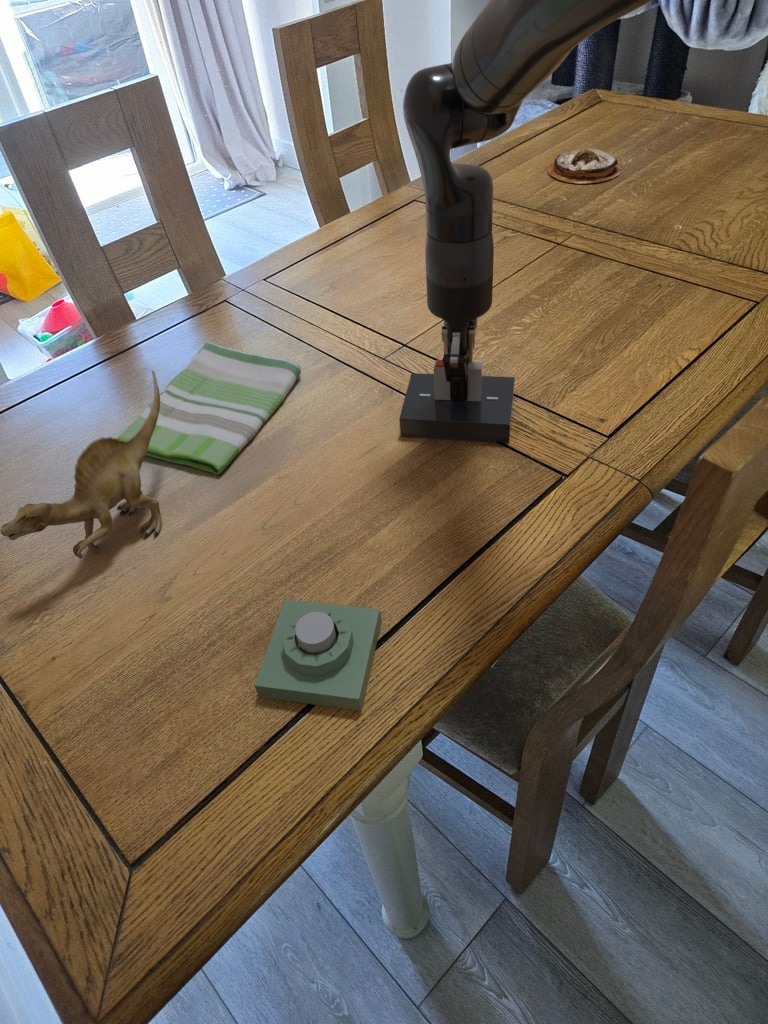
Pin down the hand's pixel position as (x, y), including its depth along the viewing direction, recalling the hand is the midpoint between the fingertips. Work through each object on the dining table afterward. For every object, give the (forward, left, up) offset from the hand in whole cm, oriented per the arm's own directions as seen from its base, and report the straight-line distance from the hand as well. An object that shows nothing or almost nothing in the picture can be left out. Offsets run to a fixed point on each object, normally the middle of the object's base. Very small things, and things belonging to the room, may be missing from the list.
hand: (459, 393), depth 90 cm
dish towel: (+34, +2, -4) cm, 34 cm away
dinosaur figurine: (+36, +23, -4) cm, 43 cm away
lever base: (0, 0, -4) cm, 4 cm away
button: (+9, +39, 0) cm, 40 cm away
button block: (+9, +39, -4) cm, 40 cm away
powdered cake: (-17, -84, -4) cm, 86 cm away
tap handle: (0, 0, 0) cm, 1 cm away
